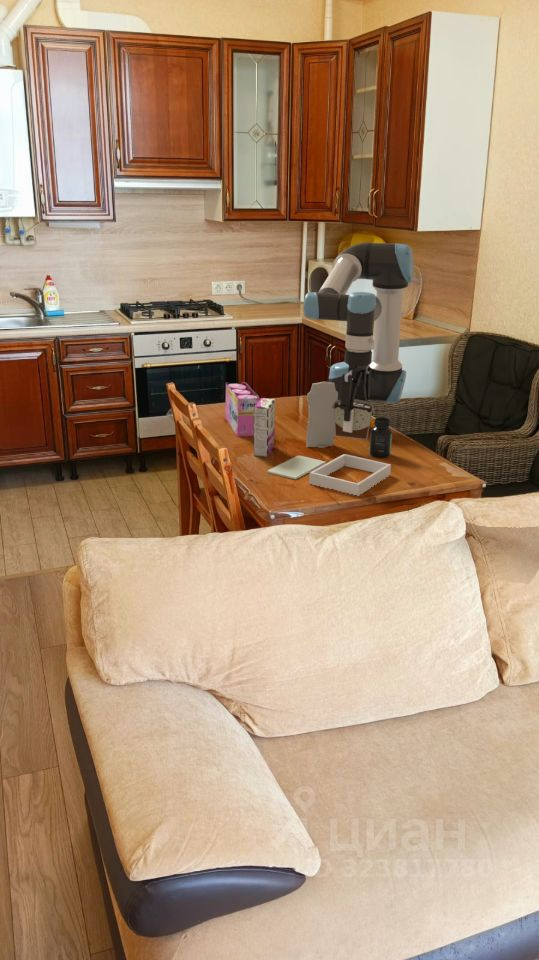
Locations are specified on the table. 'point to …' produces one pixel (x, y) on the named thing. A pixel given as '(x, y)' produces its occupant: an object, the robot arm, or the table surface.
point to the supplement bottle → (380, 438)
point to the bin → (322, 480)
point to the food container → (354, 419)
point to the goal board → (296, 467)
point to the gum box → (241, 408)
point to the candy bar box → (264, 427)
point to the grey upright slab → (321, 415)
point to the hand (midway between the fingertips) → (353, 428)
